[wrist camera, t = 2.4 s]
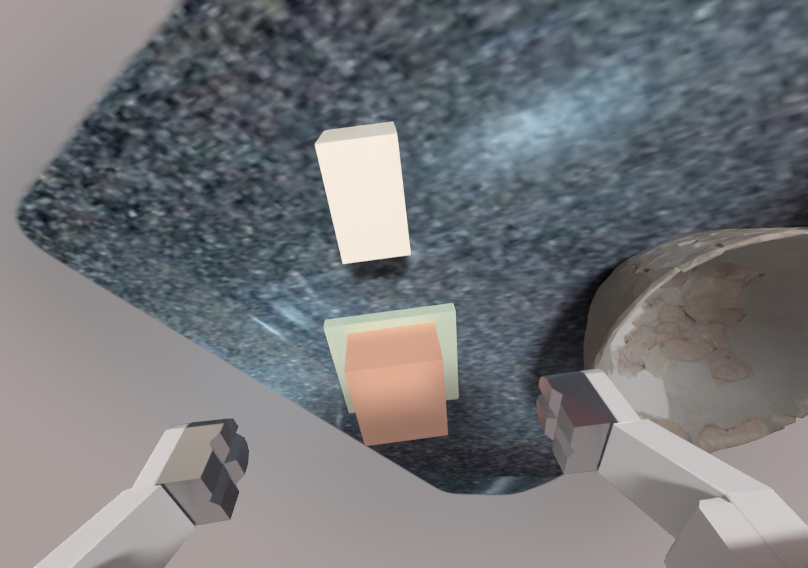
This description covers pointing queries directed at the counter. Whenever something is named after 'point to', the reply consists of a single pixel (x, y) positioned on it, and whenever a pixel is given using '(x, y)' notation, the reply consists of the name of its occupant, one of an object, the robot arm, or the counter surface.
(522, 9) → the counter surface
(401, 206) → the cream brick
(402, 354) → the peach layered block
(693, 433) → the ceramic bowl
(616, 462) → the robot arm
